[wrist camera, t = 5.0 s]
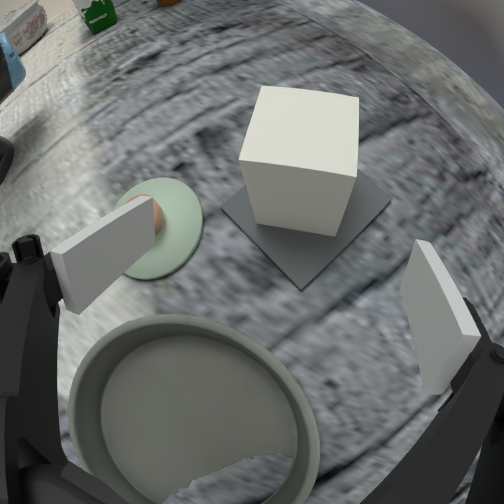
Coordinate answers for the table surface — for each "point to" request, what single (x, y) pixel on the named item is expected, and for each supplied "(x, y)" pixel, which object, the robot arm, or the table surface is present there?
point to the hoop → (187, 409)
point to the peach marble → (157, 213)
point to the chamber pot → (25, 25)
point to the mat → (306, 243)
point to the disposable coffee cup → (167, 2)
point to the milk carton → (96, 13)
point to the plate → (168, 227)
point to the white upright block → (301, 158)
